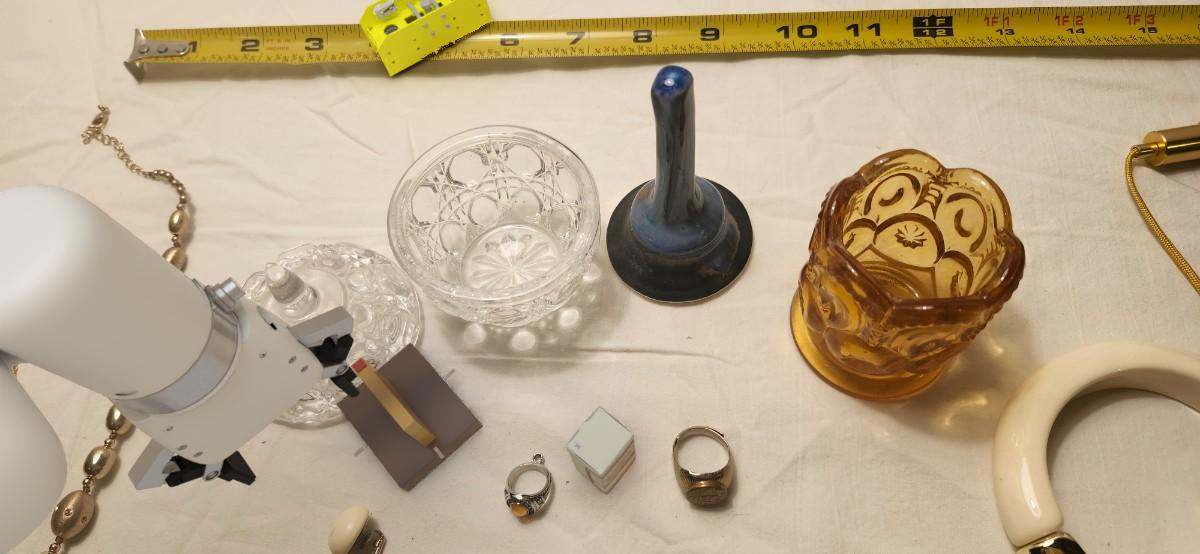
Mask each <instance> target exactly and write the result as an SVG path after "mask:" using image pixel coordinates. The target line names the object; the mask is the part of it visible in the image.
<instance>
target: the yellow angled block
mask: <svg viewBox="0 0 1200 554" xmlns="http://www.w3.org/2000/svg"><path fill="white" fill-rule="evenodd" d="M350 367H351V369H352V370H353V371H354V372H355V373H356V375H357V376H358V377H359V379H360V380H361V381H362V382H364V383H365V385H366V386H367V387H368V388H369V390H370V391H371V392H372V393H373V394H374V396H375V397H376V398H377V399H378V400H379V402H380V403H381V404H382V405H383V406H384V408H385V409H386V410H387V411H388V413H389V414H390V415H391V416H392V417H393V419H394V420H395V421H396V422H397V423H398V425H399V426H400V427H401V428H402V429H403V431H405V432H406V433H407V434H409V435H410V436H412V437H413V438H414V439H416V440H417V441H418V442H420V443H421V444H423V445H424V446H425V447H426V446H427V445H429V444H430V443H431V442H432V441H433V440H434V439H435V438H436V436H435V435H434V434H433V433H432V432H431V431H430V429H429V428H428V427H427V426H426V425H425V423H424V422H423V421H422V420H421V419H420V418H419V416H418V415H417V414H416V413H415V412H414V410H413V409H412V408H411V407H410V406H409V405H408V403H407V402H406V401H405V400H404V399H403V397H402V396H401V395H400V394H399V393H398V392H397V390H396V389H395V388H394V387H393V386H392V384H391V383H390V382H389V381H388V380H387V379H386V378H385V377H384V376H383V375H382V374H381V373H380V372H378V371H377V370H378V369H377V368H375V367H374V366H373V365H372V364H371V363H369V361H367V360H366V359H365V358H364V357H362V356H361V357H359V359H357V360H355V362H353V363H352V364H351V365H350Z"/></svg>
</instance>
